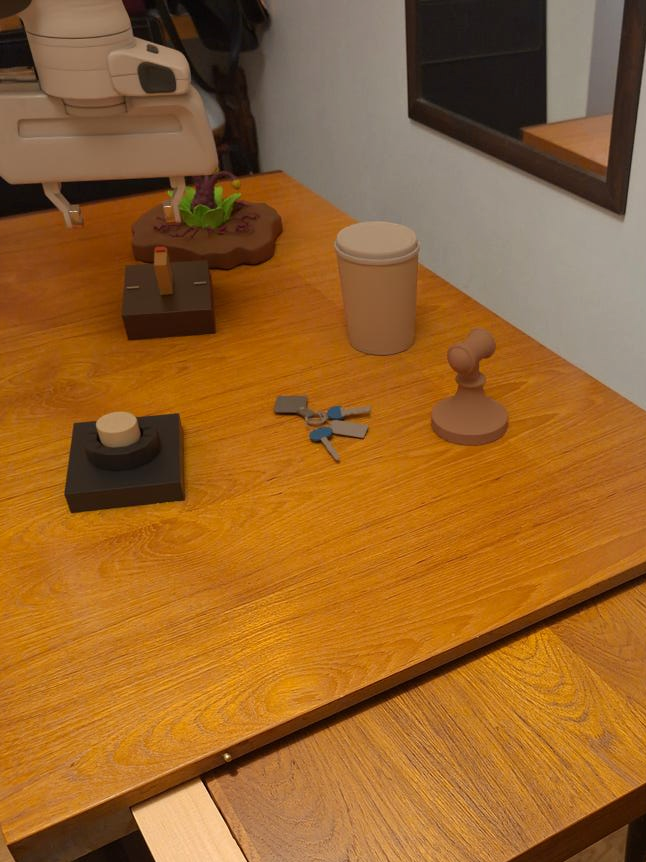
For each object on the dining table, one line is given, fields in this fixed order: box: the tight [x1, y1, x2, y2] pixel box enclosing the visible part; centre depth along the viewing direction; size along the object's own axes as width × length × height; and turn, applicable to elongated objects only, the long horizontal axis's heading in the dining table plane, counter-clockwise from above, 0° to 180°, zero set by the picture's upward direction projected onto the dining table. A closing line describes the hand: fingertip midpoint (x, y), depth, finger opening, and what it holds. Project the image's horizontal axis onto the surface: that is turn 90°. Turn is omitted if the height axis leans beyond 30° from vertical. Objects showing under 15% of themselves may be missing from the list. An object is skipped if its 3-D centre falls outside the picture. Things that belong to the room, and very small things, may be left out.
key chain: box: [273, 395, 372, 461], centre depth 93 cm, size 14×8×1 cm, turn 40°
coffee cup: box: [333, 220, 421, 356], centre depth 102 cm, size 9×9×12 cm
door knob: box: [430, 326, 509, 446], centre depth 91 cm, size 8×10×8 cm
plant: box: [130, 165, 283, 270], centre depth 121 cm, size 20×20×11 cm
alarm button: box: [96, 411, 141, 448], centre depth 83 cm, size 4×4×2 cm
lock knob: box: [153, 247, 173, 295], centre depth 107 cm, size 5×1×4 cm, turn 13°
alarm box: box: [63, 412, 186, 514], centre depth 85 cm, size 10×12×4 cm
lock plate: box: [121, 260, 217, 341], centre depth 109 cm, size 10×14×3 cm
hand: (125, 224), depth 91 cm, fingers open, 8 cm apart
